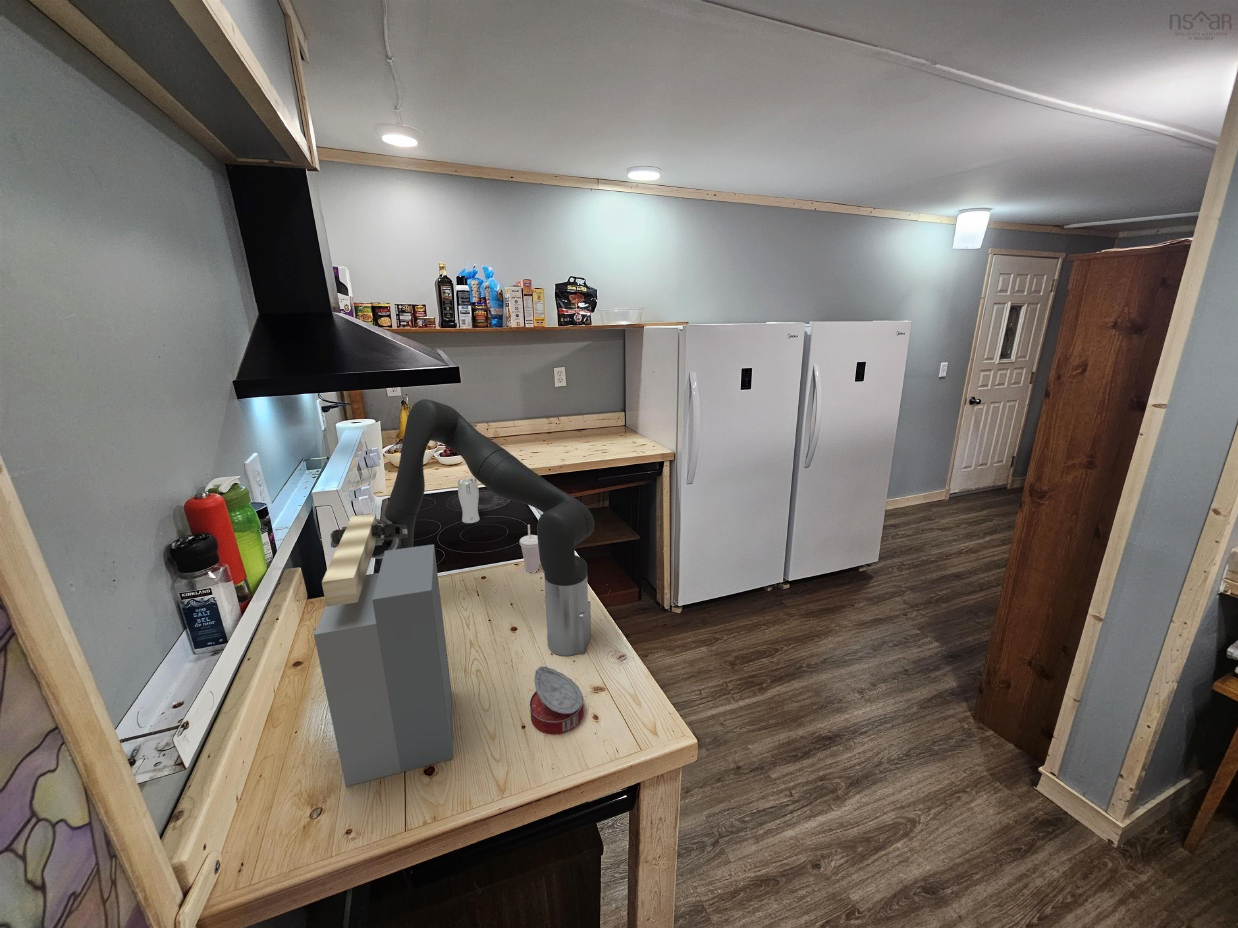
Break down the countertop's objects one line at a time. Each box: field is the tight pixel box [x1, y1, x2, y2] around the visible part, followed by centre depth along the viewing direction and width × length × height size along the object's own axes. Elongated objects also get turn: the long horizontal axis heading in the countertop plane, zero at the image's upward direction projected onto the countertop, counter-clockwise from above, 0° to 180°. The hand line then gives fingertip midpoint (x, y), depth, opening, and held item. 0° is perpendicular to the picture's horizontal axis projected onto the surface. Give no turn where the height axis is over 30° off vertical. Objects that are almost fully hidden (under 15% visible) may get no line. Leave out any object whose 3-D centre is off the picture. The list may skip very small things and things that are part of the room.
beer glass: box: [457, 477, 480, 524], centre depth 176 cm, size 7×7×15 cm
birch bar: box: [321, 513, 378, 607], centre depth 80 cm, size 24×4×4 cm, turn 19°
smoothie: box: [519, 524, 541, 573], centre depth 141 cm, size 6×6×14 cm
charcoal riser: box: [313, 544, 454, 788], centre depth 82 cm, size 16×16×32 cm
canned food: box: [529, 666, 584, 736], centre depth 91 cm, size 11×10×10 cm
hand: (359, 531), depth 86 cm, fingers closed on birch bar, 4 cm apart
